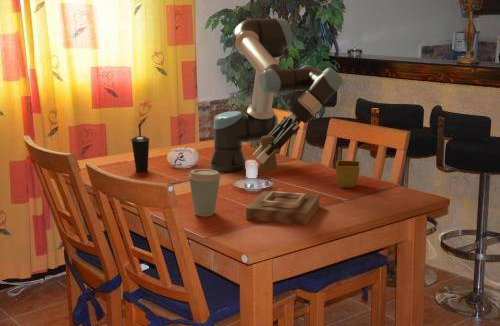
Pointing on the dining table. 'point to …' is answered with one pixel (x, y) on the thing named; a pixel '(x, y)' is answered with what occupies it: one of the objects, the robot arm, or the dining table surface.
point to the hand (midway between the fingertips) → (257, 159)
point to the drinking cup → (140, 152)
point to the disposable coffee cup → (204, 190)
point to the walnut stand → (283, 207)
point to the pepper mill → (271, 161)
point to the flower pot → (347, 173)
